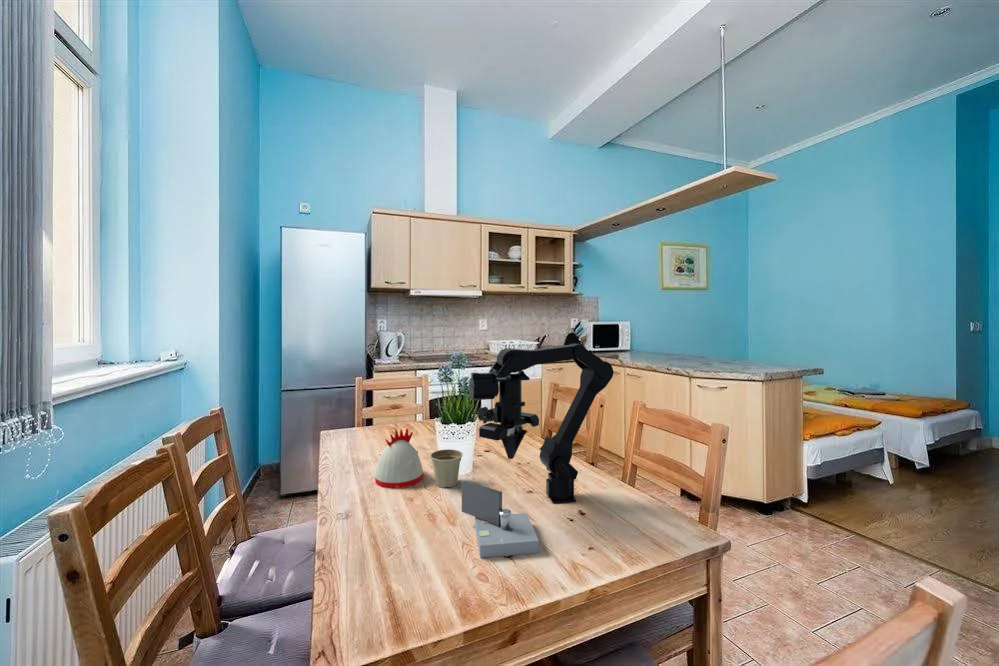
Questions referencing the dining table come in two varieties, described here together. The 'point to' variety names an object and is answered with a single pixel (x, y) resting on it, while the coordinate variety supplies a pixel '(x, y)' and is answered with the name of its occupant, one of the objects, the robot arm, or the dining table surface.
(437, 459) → the flower pot
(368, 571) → the dining table surface
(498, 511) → the gray pivoting panel
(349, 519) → the dining table surface
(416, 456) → the grey and red dome
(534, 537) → the gray square base
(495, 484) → the dining table surface
